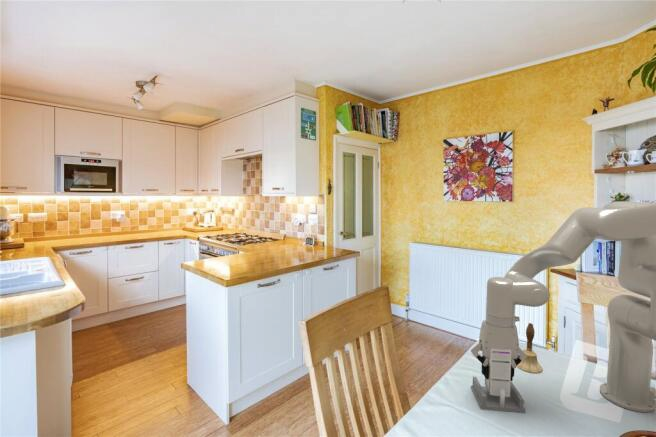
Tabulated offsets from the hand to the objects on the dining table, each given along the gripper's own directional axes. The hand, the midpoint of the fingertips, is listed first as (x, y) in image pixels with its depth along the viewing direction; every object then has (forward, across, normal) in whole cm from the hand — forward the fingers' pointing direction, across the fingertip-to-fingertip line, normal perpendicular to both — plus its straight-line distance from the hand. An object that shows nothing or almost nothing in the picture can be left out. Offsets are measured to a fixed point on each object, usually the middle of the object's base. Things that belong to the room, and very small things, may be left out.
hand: (497, 377), depth 97 cm
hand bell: (+8, -18, -21) cm, 29 cm away
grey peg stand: (+7, 0, 0) cm, 7 cm away
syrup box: (+5, 0, 0) cm, 5 cm away
